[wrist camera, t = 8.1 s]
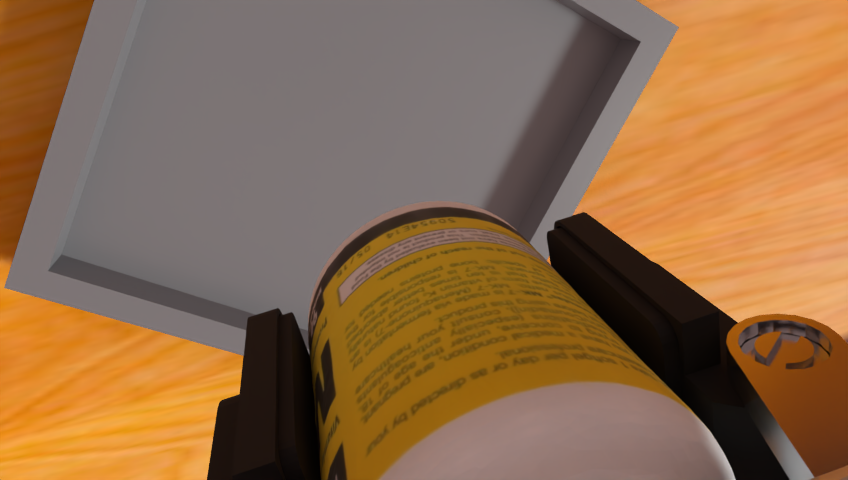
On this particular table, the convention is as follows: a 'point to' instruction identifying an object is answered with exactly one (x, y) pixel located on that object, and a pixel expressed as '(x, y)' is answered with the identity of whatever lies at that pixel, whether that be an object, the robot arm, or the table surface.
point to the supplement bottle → (481, 365)
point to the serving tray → (310, 141)
